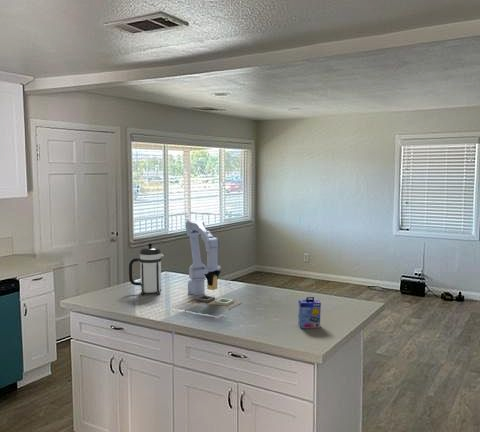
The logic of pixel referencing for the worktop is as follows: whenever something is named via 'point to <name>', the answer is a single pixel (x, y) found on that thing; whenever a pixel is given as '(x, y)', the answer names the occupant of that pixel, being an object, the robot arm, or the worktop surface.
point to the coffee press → (148, 270)
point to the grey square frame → (203, 299)
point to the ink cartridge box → (309, 313)
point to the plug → (214, 285)
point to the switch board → (216, 304)
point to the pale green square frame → (224, 302)
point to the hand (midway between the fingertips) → (212, 284)
